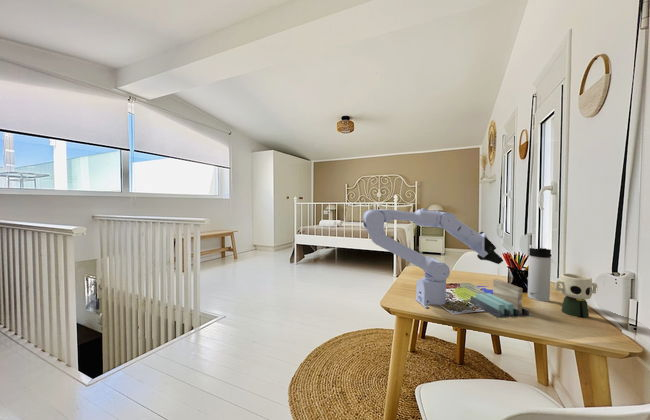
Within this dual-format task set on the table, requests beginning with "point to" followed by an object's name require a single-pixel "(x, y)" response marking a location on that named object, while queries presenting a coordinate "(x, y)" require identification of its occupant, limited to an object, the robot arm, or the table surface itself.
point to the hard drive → (486, 290)
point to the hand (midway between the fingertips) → (497, 255)
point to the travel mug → (539, 274)
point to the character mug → (575, 293)
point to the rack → (496, 312)
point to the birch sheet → (508, 293)
